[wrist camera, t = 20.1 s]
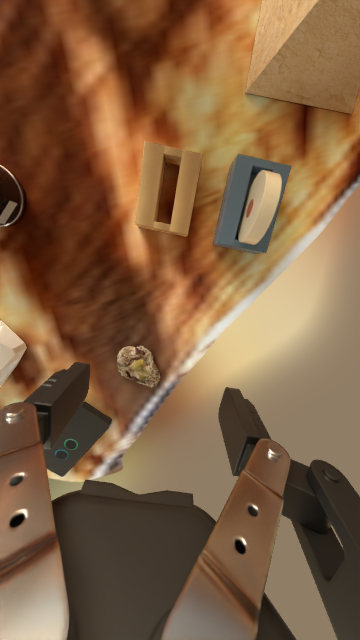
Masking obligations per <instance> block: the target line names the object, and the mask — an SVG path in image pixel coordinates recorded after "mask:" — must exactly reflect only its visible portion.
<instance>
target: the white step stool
mask: <svg viewBox="0 0 360 640" xmlns="http://www.w3.org/2000/svg"><path fill="white" fill-rule="evenodd" d="M26 348H27V347H26V344H25V342H24V341H22V340H21V339H20V338H19V337H18V336H17V335H16V334H15V333H14V332H13V331H12V330H11V329H10V328H9V327H8V326H7V325H6V324H5V323H4V322H2V321H1V320H0V388H1V386H2V385H3V383H4V382H5V381H6V379H7V378H8V377H9V375H10V374H11V373H12V371H13V370H14V369H15V367H16V366H17V364H18V363H19V361H20V359H21V357H22V356H23V354H24V352H25V350H26Z"/></svg>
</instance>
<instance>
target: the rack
mask: <svg viewBox="0 0 360 640" xmlns="http://www.w3.org/2000/svg"><path fill="white" fill-rule="evenodd" d="M202 157H203V154H199V153H195V152H191V151H186V150H182V149H177V148H173V147H169V146H164V145H160V144H156V143H152V142H147V141H145V143H144V151H143V159H142V168H141V176H140V185H139V193H138V201H137V210H136V218H135V224H136V225H137V226H138V227H141V228H146V229H150V230H156V231H160V232H165V233H170V234H175V235H180V236H184V237H187V236H188V231H189V226H190V221H191V215H192V210H193V205H194V199H195V194H196V189H197V183H198V178H199V173H200V167H201V162H202ZM165 162H166V163H169V164H174V165H178V166H180V170H179V176H178V182H177V188H176V195H175V201H174V207H173V213H172V219H171V225H170V224H165V223H160V222H157V216H158V209H159V202H160V196H161V189H162V182H163V175H164V168H165Z"/></svg>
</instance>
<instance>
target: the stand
mask: <svg viewBox="0 0 360 640" xmlns="http://www.w3.org/2000/svg"><path fill="white" fill-rule="evenodd" d="M290 169H291V166H289V165H285V164H280V163H276V162H275V163H274V162H271V161H267V160H263V159H259V158H254V157H250V156H245V155H241V154H238V155H237V157H236V158H235V160H234V162H233V163H232V165H231V167H230V170H229V174H228V179H227V183H226V188H225V192H224V197H223V201H222V206H221V210H220V215H219V219H218V224H217V228H216V233H215V237H214V242H213V245H215V246H220V247H225V248H230V249H235V250H240V251H244V252H249V253H254V254H260V253H266V251H267V248H268V245H269V241H270V238H271V234H272V231H273V227H274V224H275V221H276V217H277V214H278V210H279V207H280V203H281V200H282V197H283V193H284V190H285V186H286V183H287V179H288V176H289V173H290ZM262 170H266V171H271V172H275V173H279V174H280V176H281V179H282V186H281V193H280V198H279V202H278V205H277V208H276V211H275V214H274V216H273V219H272V221H271V223H270V225H269V227H268V229H267V231H266V233H265V234H264V236H263V237H262V239H261V240H260V241H259V242H258V243H257V244H255V245H251V244H246V243H242V242H239V240H238V226H239V221H240V216H241V212H242V209H243V205H244V202H245V200H246V197H247V194H248V192H249V189H250V187H251V185H252V183H253V181H254V179H255V178H256V176H257V175H258V173H259V172H260V171H262Z"/></svg>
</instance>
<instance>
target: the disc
mask: <svg viewBox="0 0 360 640" xmlns="http://www.w3.org/2000/svg"><path fill="white" fill-rule="evenodd" d="M281 186H282V179H281V176H280V174H279V173H275V172H271V171H266V170H262V171H260V172H259V173H258V175H257V176H256V178H255V179H254V181H253V183H252V185H251V187H250V189H249V192H248V194H247V197H246V200H245V202H244V205H243V209H242V212H241V216H240V221H239V226H238V240H239V242H242V243H246V244H251V245H255V244H257V243H258V242H259V241H260V240H261V239H262V237H263V236H264V234H265V233H266V231H267V229H268V227H269V225H270V223H271V221H272V219H273V216H274V214H275V211H276V208H277V205H278V202H279V198H280V193H281Z"/></svg>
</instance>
